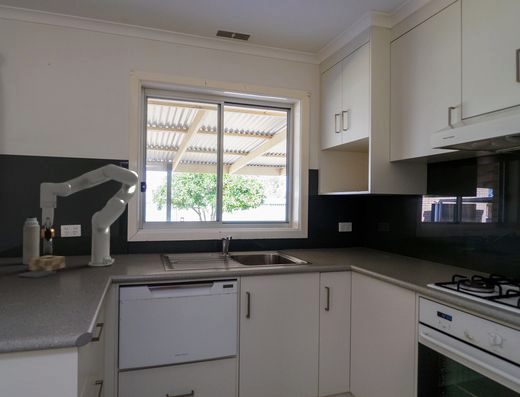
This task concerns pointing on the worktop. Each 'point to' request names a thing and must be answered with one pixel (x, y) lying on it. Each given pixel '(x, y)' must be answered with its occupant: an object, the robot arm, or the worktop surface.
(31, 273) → the mat
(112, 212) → the robot arm
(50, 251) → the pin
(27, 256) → the thermos bottle
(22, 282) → the worktop surface
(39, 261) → the eye block
